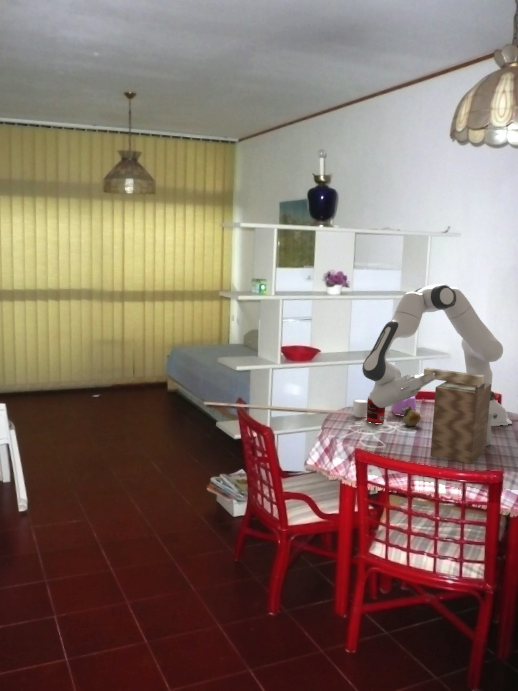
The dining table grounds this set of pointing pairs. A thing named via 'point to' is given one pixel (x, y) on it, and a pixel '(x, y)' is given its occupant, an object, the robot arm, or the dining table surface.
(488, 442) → the salt shaker
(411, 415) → the onion
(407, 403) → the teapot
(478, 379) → the birch rod
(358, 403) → the white cylinder
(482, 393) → the walnut shelf
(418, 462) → the dining table surface
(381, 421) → the canned food
